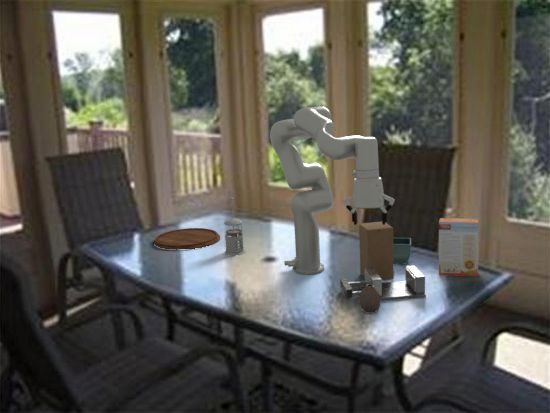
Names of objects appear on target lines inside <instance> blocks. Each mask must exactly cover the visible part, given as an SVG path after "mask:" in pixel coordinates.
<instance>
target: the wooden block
mask: <svg viewBox="0 0 550 413" xmlns="http://www.w3.org/2000/svg"><path fill="white" fill-rule="evenodd" d="M358 226H359V228H358V231H359V233H358V234H359V271H360V275H362V277H363V278H364V279H365V268H374V270H375V271H376V272H377V274H378V275H379V276H380V278H381V279H382V281H387V280H388V281H389V280H393V279H394V277H395V276H394V270H395V269H394V263H393V238H394V227H392V226H391V225H390V224H389V223H387V222H386V223H385V225H383V224H382V220H381V221H374V222H362V223H359V224H358Z"/></svg>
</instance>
